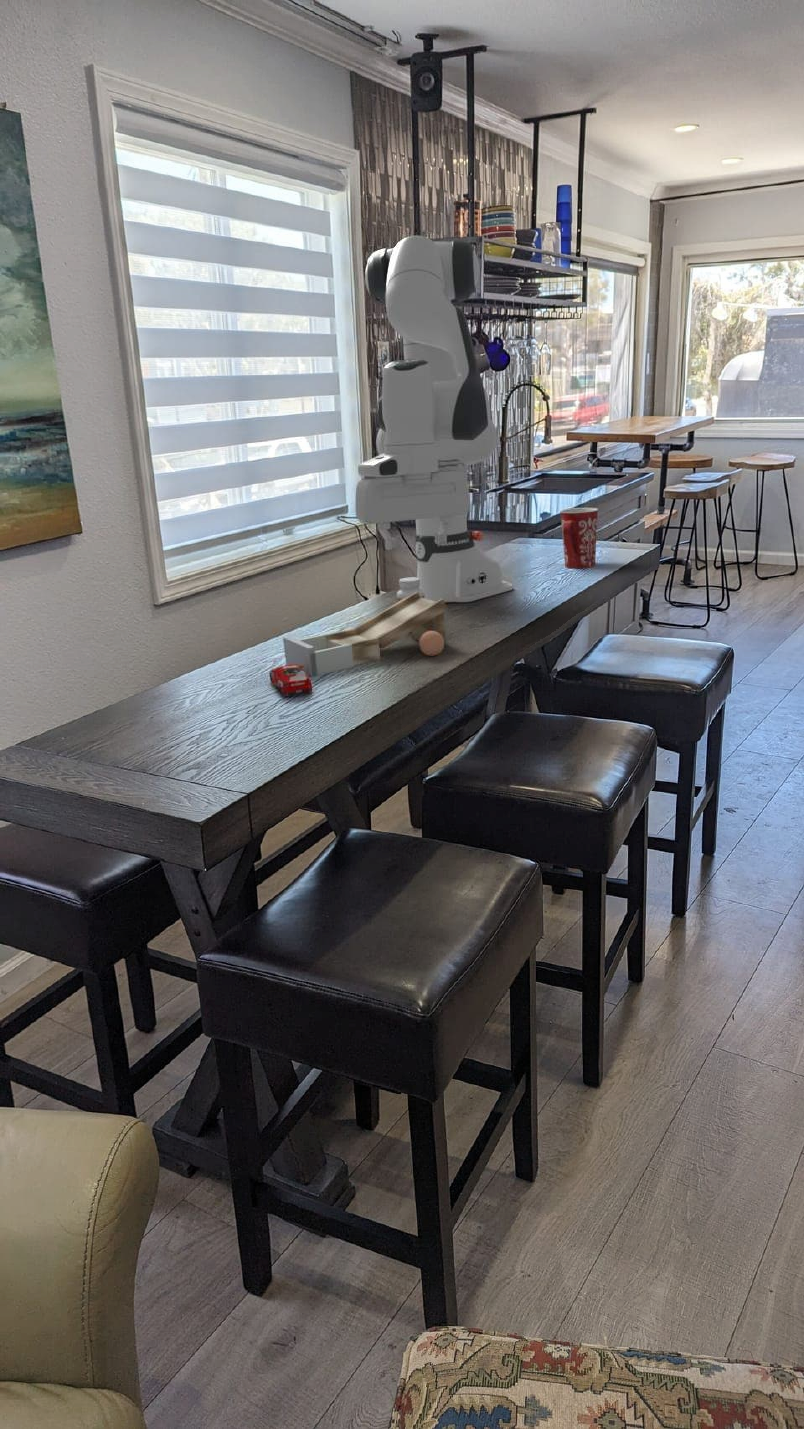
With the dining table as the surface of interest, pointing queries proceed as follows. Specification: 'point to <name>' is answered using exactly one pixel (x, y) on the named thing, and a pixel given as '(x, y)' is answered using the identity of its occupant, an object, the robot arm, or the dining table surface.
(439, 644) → the ball
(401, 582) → the supplement bottle
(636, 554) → the dining table surface
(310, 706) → the dining table surface
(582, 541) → the mug
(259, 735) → the dining table surface
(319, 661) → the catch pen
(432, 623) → the ramp
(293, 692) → the race car
